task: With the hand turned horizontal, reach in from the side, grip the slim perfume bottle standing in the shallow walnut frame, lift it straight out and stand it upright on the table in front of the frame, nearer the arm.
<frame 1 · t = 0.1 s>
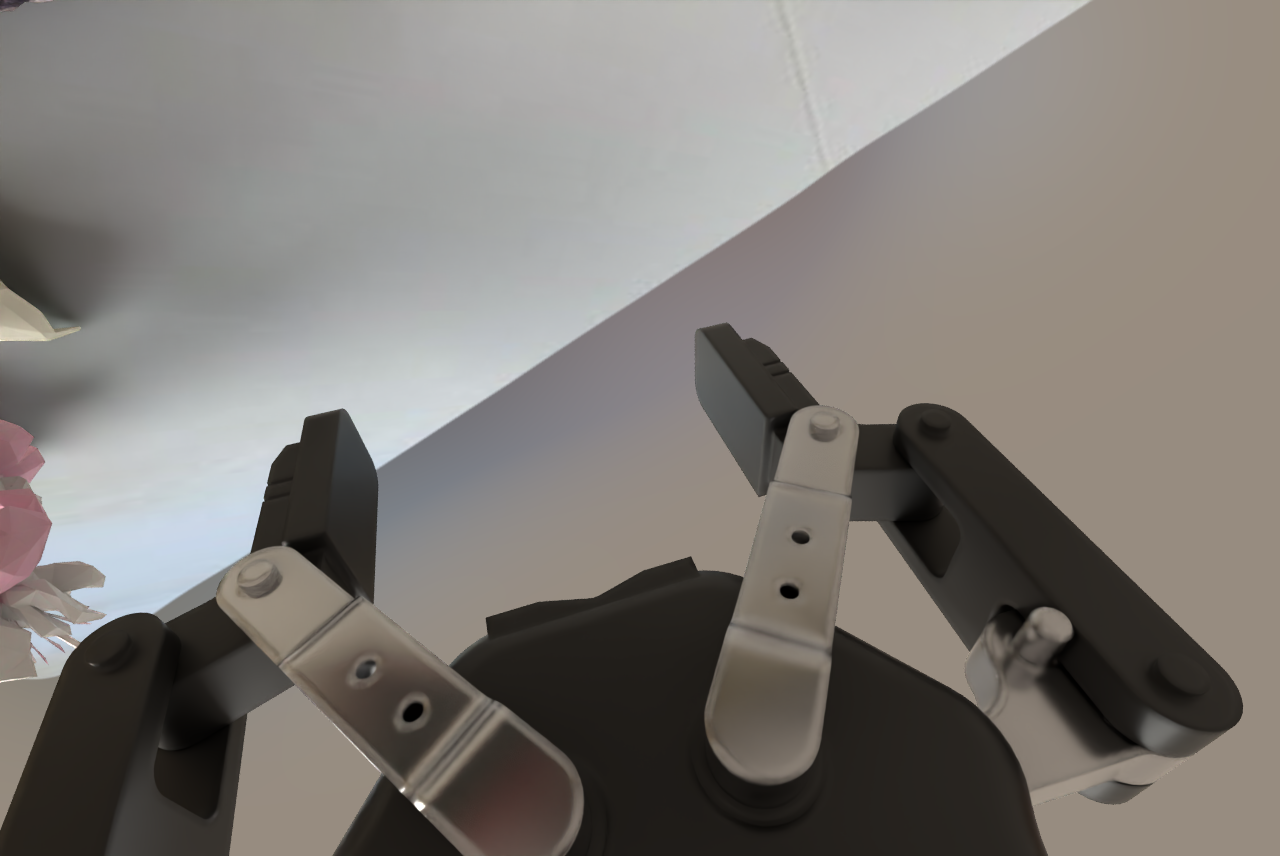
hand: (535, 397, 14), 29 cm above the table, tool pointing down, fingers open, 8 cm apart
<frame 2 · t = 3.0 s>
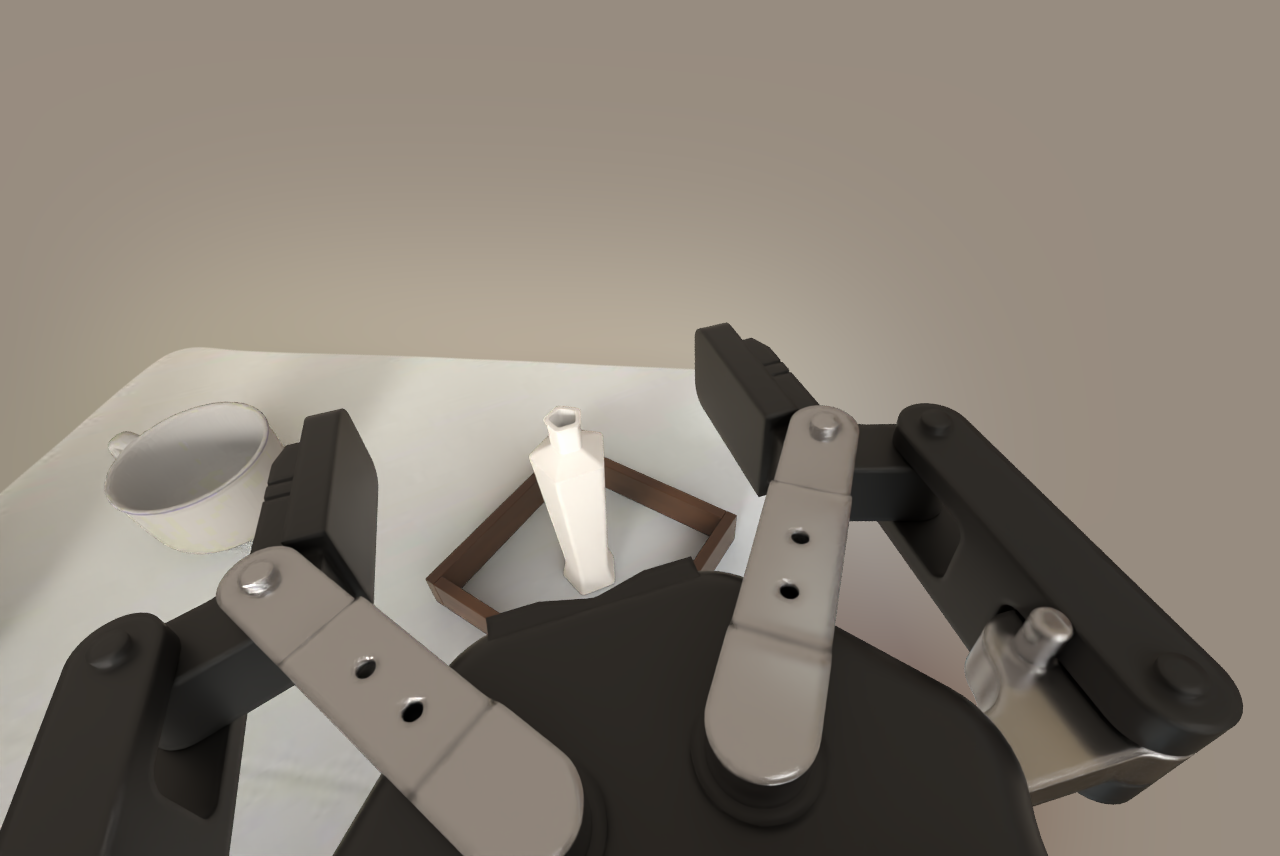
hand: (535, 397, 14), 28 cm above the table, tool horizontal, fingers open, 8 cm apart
perfume bottle: (590, 570, 44), resting in walnut frame
walnut frame: (590, 568, 44), on the table
teacup: (230, 513, 49), on the table
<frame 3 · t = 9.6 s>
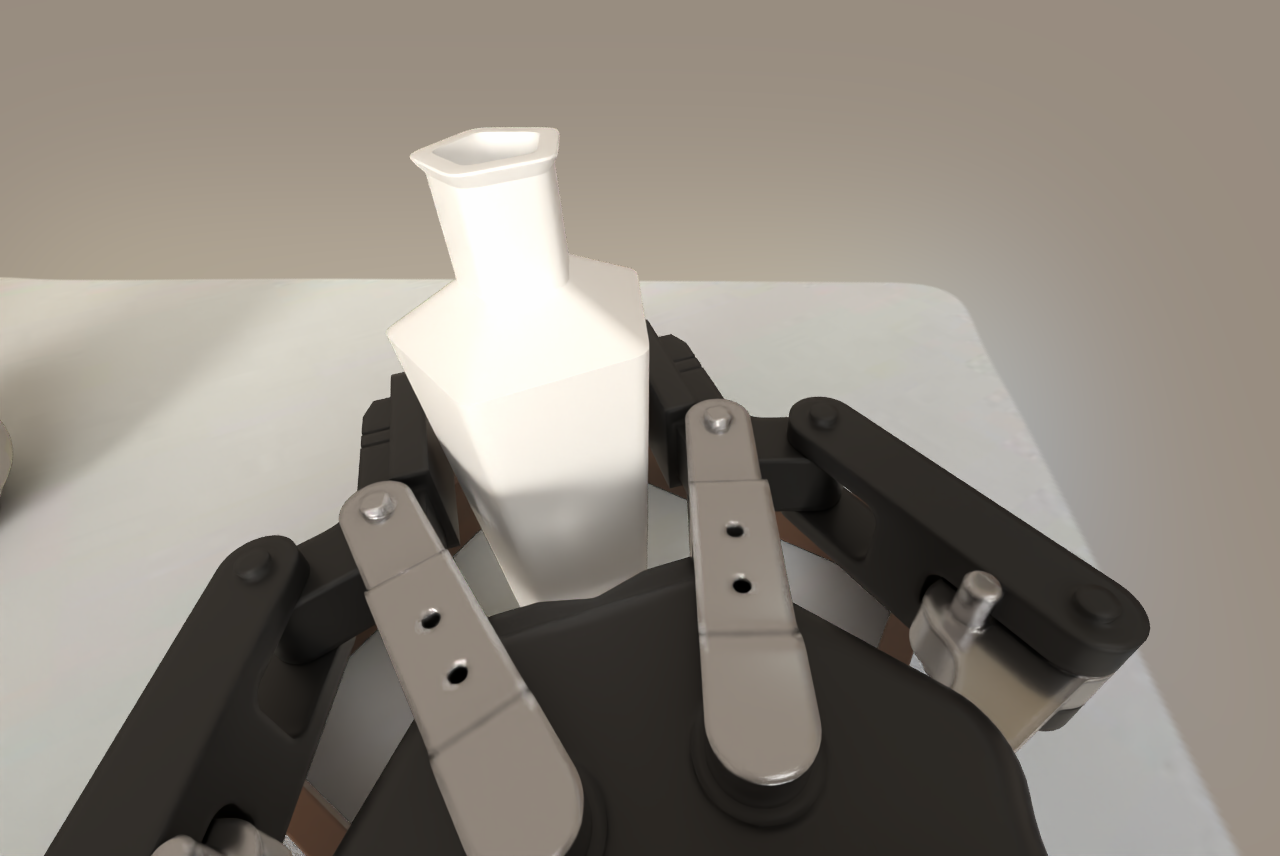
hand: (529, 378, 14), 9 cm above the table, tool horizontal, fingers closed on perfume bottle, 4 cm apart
perfume bottle: (600, 663, 19), resting in walnut frame, touching gripper
walnut frame: (601, 660, 18), on the table
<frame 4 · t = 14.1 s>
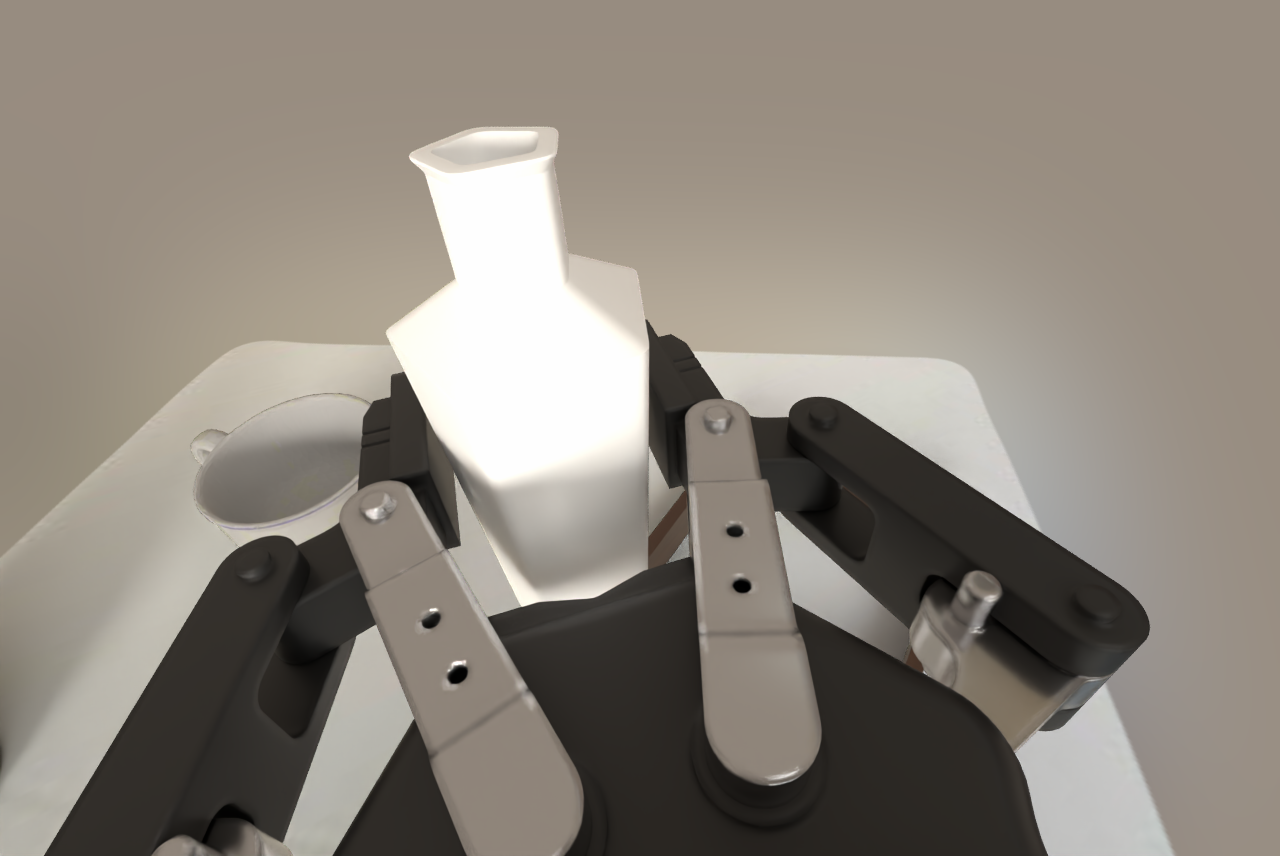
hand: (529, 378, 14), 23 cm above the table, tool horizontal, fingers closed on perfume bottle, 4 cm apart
perfume bottle: (601, 663, 19), point 13 cm above the table, touching gripper
walnut frame: (783, 592, 35), on the table
teacup: (328, 527, 42), on the table
when the fingers open (9 cm above the table, at t = 19.0 s): perfume bottle stays where it is, on the table.
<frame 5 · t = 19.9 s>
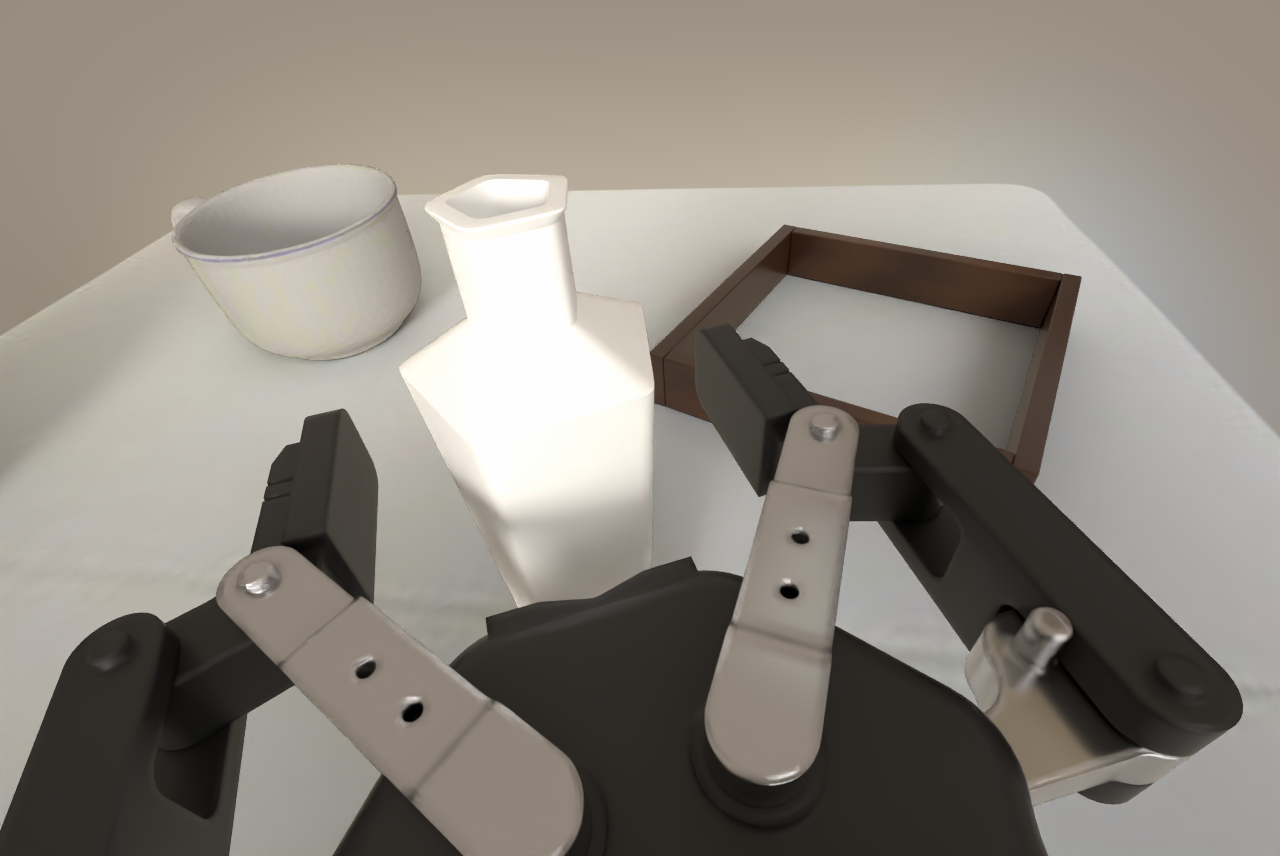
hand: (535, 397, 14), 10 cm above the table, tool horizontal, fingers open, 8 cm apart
perfume bottle: (605, 677, 19), on the table
walnut frame: (863, 361, 30), on the table
teacup: (330, 330, 36), on the table
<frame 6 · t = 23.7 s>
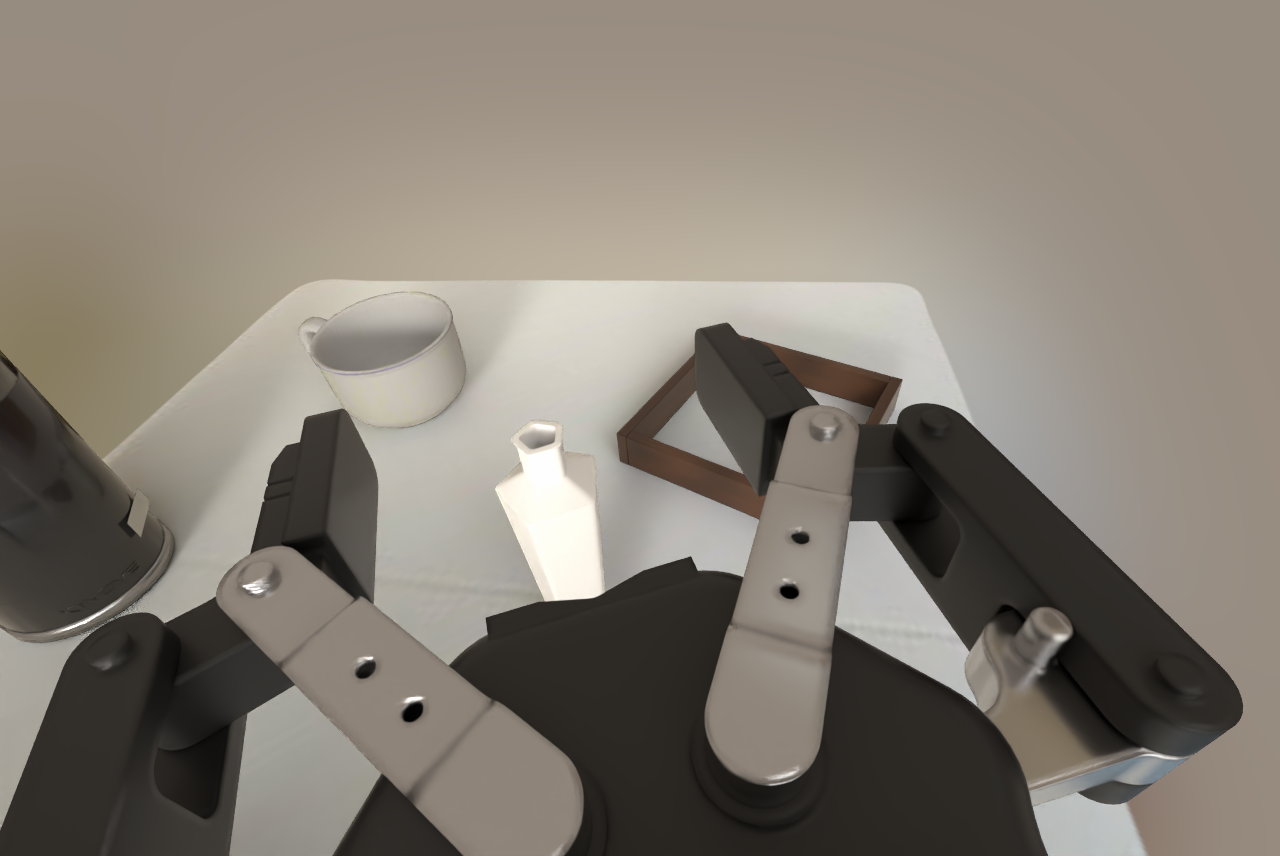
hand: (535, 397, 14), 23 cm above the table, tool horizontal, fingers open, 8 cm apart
perfume bottle: (584, 628, 34), on the table
walnut frame: (761, 433, 46), on the table
teacup: (400, 402, 52), on the table
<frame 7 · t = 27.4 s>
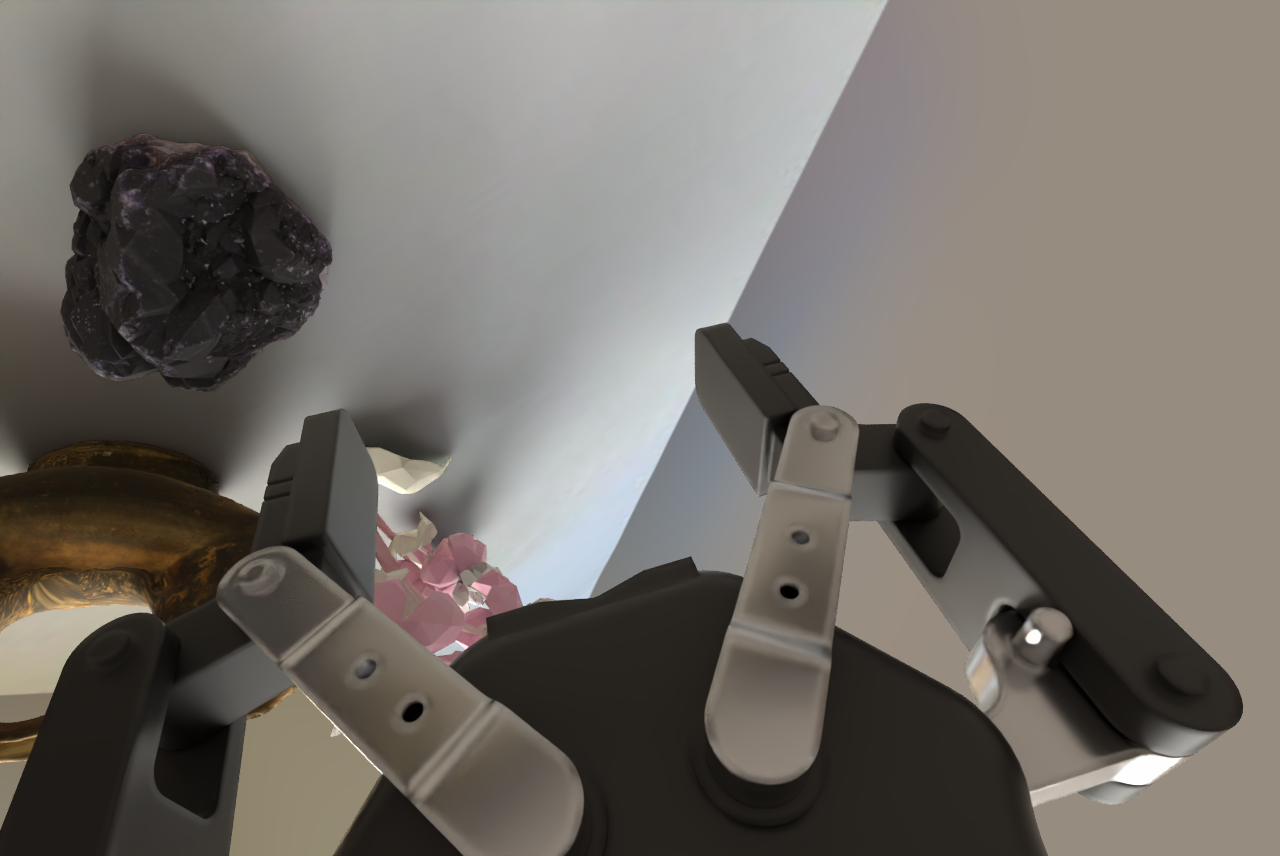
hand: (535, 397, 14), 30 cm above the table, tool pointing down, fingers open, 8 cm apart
flower: (416, 511, 55), on the table
crystal cluster: (214, 245, 37), on the table
pottery vessel: (139, 486, 45), on the table
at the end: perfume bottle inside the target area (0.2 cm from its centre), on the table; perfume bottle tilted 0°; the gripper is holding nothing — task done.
